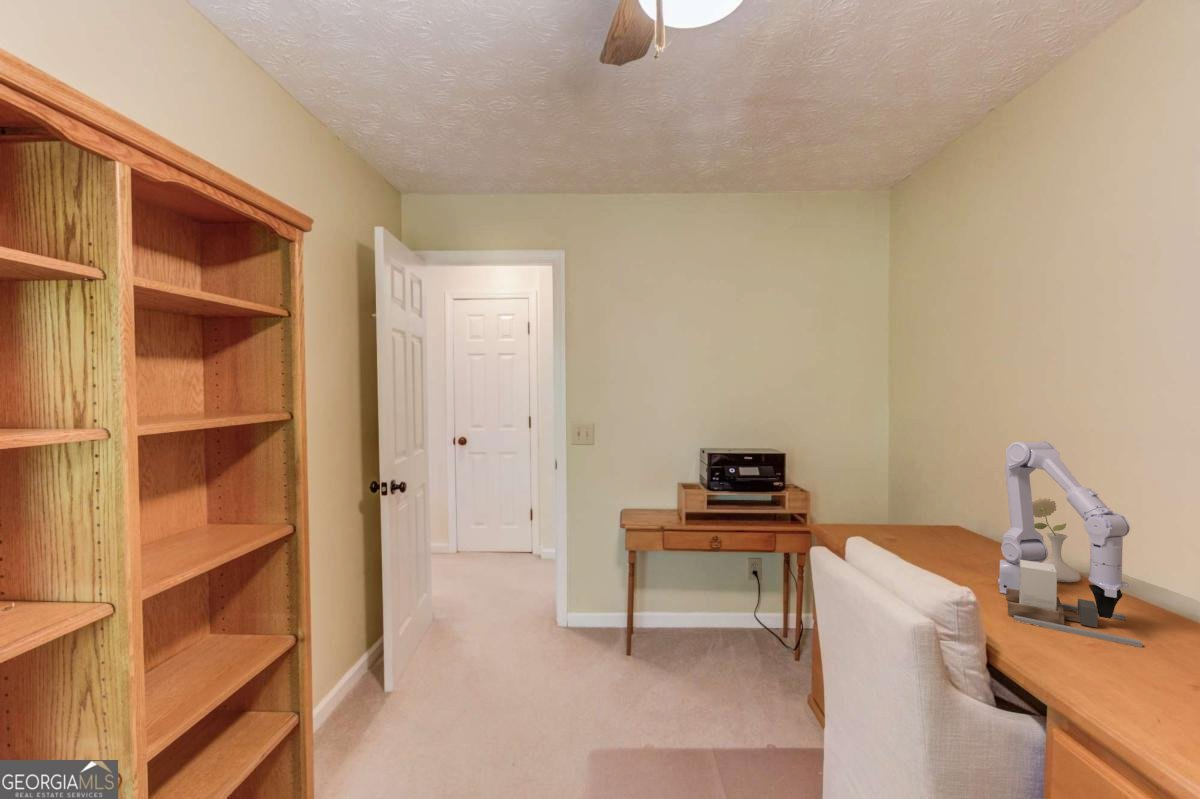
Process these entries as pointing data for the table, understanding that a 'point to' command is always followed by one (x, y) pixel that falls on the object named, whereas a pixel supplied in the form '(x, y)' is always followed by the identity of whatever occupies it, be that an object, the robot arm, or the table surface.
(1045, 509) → the flower in vase
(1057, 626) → the guide rails
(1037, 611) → the bench vise
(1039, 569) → the supplement box
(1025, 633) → the table surface
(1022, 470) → the robot arm
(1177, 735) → the table surface
